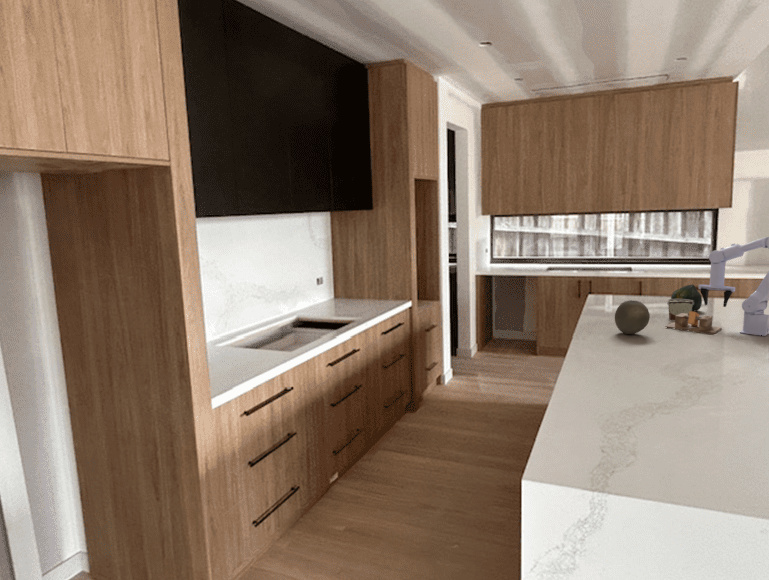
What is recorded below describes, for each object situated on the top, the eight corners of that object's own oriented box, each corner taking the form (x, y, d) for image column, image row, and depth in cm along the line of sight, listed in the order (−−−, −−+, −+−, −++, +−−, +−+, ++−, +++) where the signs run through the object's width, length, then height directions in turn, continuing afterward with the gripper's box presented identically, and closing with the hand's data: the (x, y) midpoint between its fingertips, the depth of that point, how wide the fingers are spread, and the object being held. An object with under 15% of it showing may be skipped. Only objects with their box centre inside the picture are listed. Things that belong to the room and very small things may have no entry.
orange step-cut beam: (697, 326, 256) (699, 314, 257) (693, 323, 251) (695, 311, 251) (691, 325, 258) (693, 314, 258) (687, 323, 253) (689, 311, 253)
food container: (687, 318, 279) (688, 298, 277) (693, 320, 273) (694, 300, 271) (661, 318, 280) (663, 298, 279) (666, 320, 274) (668, 300, 272)
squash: (660, 299, 303) (678, 280, 293) (679, 297, 310) (697, 279, 299) (676, 319, 295) (695, 301, 285) (695, 317, 301) (714, 300, 291)
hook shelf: (721, 329, 253) (722, 316, 252) (713, 334, 244) (714, 321, 243) (674, 323, 267) (674, 311, 266) (665, 327, 258) (665, 315, 257)
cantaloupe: (612, 336, 243) (613, 302, 241) (615, 329, 256) (617, 297, 254) (647, 339, 237) (649, 304, 235) (649, 332, 249) (651, 299, 247)
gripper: (697, 276, 257) (695, 305, 259) (733, 278, 247) (731, 308, 249) (701, 274, 262) (699, 303, 264) (737, 276, 252) (735, 306, 254)
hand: (715, 305), depth 257 cm, fingers open, 7 cm apart
